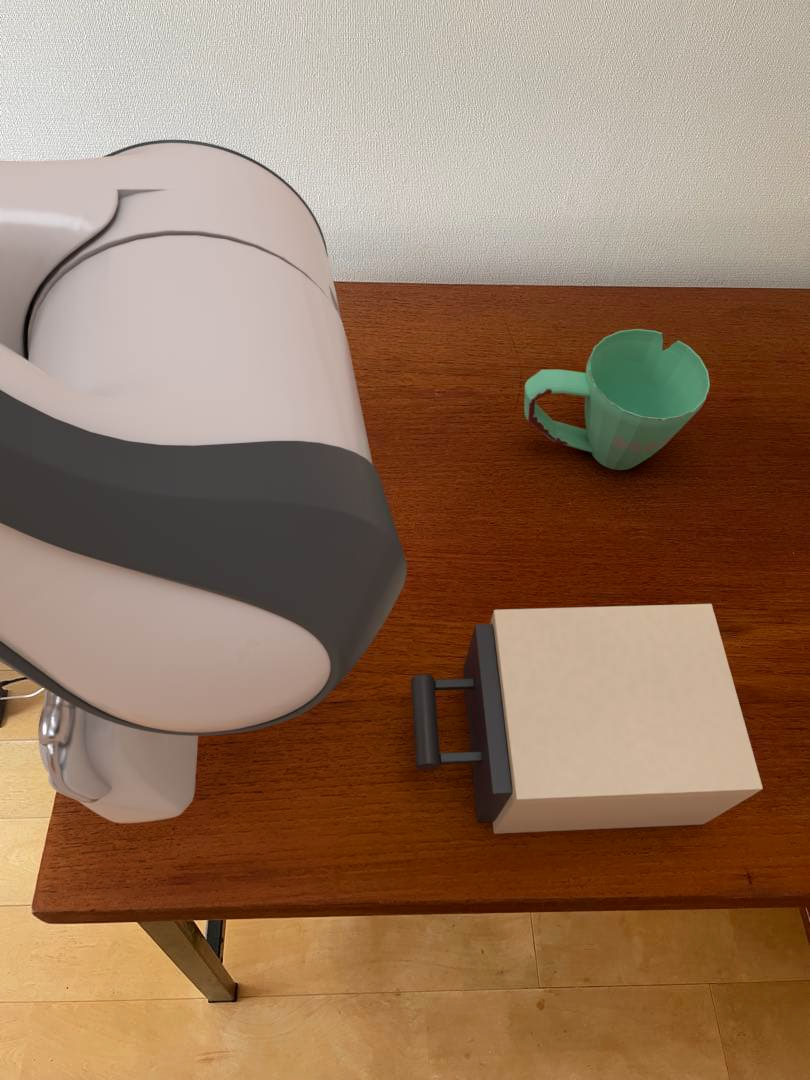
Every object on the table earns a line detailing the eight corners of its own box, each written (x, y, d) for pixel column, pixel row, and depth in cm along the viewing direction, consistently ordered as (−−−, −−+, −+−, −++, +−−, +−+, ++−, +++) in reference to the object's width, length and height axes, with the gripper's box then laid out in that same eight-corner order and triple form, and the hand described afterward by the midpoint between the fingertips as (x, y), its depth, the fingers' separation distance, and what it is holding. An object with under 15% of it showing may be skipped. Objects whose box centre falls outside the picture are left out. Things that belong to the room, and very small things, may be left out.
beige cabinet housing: (493, 833, 55) (516, 799, 46) (476, 666, 61) (493, 609, 53) (703, 824, 56) (763, 789, 47) (665, 660, 62) (712, 603, 54)
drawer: (414, 825, 54) (420, 796, 47) (405, 671, 60) (410, 626, 53) (672, 814, 55) (715, 784, 48) (640, 663, 61) (674, 618, 54)
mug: (657, 406, 76) (694, 328, 67) (680, 492, 70) (724, 418, 62) (504, 408, 75) (521, 328, 66) (516, 495, 70) (537, 420, 61)
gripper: (119, 770, 27) (262, 844, 39) (170, 343, 38) (271, 501, 50) (-45, 792, 28) (143, 858, 40) (50, 369, 39) (176, 518, 51)
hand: (214, 657), depth 45 cm, fingers closed
